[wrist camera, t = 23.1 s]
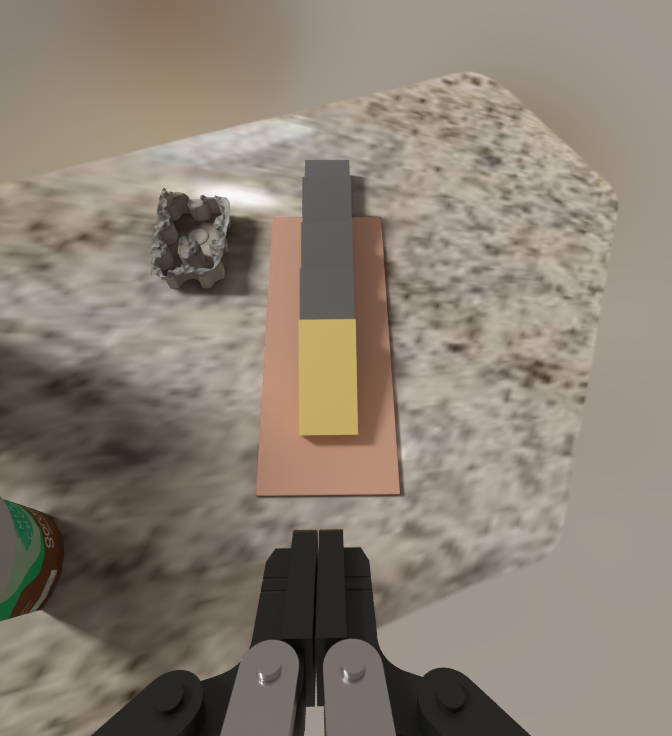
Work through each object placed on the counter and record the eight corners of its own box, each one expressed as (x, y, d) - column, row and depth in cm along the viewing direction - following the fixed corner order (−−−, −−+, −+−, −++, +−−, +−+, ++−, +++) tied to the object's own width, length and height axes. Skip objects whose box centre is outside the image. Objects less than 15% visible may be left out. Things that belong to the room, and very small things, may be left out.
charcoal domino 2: (352, 271, 44) (351, 177, 46) (302, 271, 44) (302, 177, 46) (351, 276, 46) (350, 185, 47) (303, 276, 46) (303, 185, 47)
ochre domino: (357, 434, 37) (355, 319, 39) (298, 435, 37) (298, 319, 39) (356, 434, 39) (354, 323, 40) (300, 435, 39) (299, 323, 40)
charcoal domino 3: (353, 321, 42) (352, 221, 43) (300, 322, 42) (301, 222, 43) (352, 325, 44) (351, 229, 45) (302, 325, 44) (302, 229, 45)
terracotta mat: (399, 494, 37) (399, 493, 37) (256, 496, 37) (255, 495, 37) (380, 219, 50) (380, 216, 49) (273, 220, 50) (272, 217, 49)
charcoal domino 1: (350, 228, 47) (349, 160, 51) (303, 228, 47) (305, 160, 51) (350, 238, 48) (348, 171, 52) (304, 238, 48) (306, 171, 52)
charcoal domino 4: (355, 374, 40) (353, 267, 41) (299, 375, 40) (299, 267, 41) (354, 376, 41) (352, 273, 43) (300, 377, 41) (300, 273, 43)
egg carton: (173, 212, 51) (160, 183, 47) (239, 214, 50) (231, 186, 47) (152, 290, 46) (137, 265, 42) (224, 293, 46) (215, 268, 42)
